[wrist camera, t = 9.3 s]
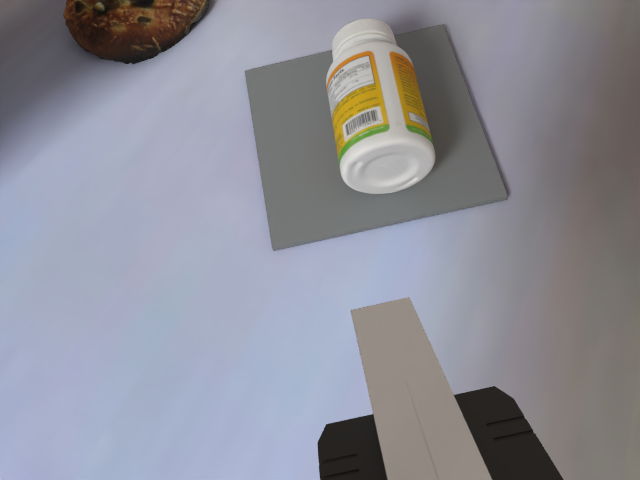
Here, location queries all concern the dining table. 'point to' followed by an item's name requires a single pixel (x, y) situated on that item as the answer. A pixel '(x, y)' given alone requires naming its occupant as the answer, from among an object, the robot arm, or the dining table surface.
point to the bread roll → (131, 26)
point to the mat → (322, 159)
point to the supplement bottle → (377, 111)
